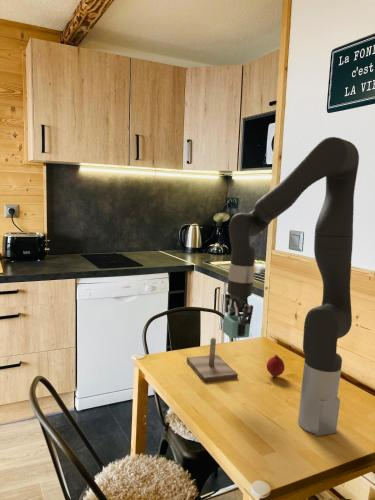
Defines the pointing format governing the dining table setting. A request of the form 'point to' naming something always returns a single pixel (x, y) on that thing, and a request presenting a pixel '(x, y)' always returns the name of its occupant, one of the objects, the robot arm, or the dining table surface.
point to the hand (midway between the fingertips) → (235, 331)
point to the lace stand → (211, 366)
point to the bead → (233, 327)
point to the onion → (275, 366)
